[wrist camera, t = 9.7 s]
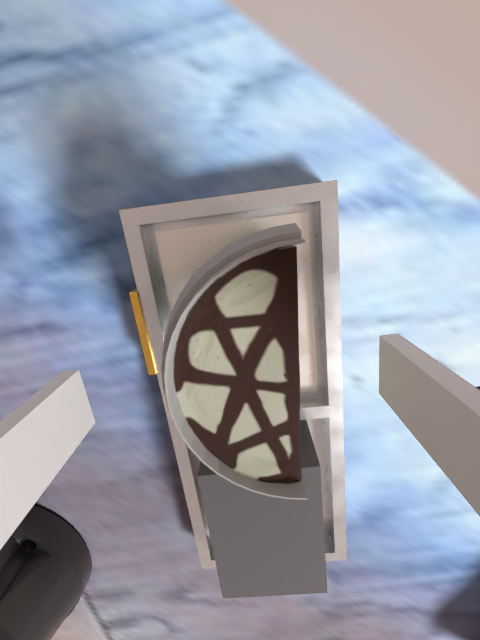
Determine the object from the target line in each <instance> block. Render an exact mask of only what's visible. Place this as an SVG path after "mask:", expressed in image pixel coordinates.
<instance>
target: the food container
mask: <svg viewBox="0 0 480 640" xmlns="http://www.w3.org/2000/svg"><path fill="white" fill-rule="evenodd" d="M304 242H305V240H304V239H303V238H302V231H301V230H300V228H299V227H298V226H297V224H296V223H292V224H286V225H281V226H275V227H270V228H267V229H264V230H261V231H258V232H255V233H252V234H249V235H247V236H245V237H243V238H241V239H239V240H238V241H236V242H234V243H232V244H230V245H228V246H226V247H225V248H224V249H222V250H221V251H220V252H218V253H217V254H216V255H214V256H213V257H212V258H210V259H209V260H208V261H207V262H206V263H205V264H204V265H203V266H202V267H201V268H200V269H199V270H198V271H197V272H196V273H195V274H194V275H193V276H192V277H191V279H190V280H189V282H188V283H187V284H186V286H185V287H184V289H183V290H182V292H181V293H180V295H179V297H178V299H177V301H176V303H175V305H174V307H173V310H172V312H171V314H170V317H169V321H168V324H167V328H166V332H165V337H164V345H163V355H162V365H161V371H162V383H163V390H164V394H165V398H166V402H167V406H168V408H169V410H170V414H171V417H172V419H173V421H174V423H175V426H176V428H177V430H178V432H179V434H180V435H181V437H182V438H183V440H184V441H185V443H186V444H187V446H188V447H189V449H190V450H191V451H192V452H193V453H194V454H195V455H196V456H197V457H198V458H199V459H200V461H201V462H202V463H204V464H205V465H206V466H207V467H209V468H210V469H211V470H212V471H214V472H215V473H216V474H218V475H219V476H221V477H223V478H224V479H226V480H228V481H229V482H231V483H233V484H235V485H237V486H240V487H242V488H244V489H247V490H249V491H252V492H255V493H259V494H263V495H266V496H270V497H277V498H284V499H299V500H307V494H306V489H305V484H304V479H303V474H302V466H301V458H300V365H299V327H298V274H297V246H294V245H298V244H301V243H304Z"/></svg>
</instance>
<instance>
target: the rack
mask: <svg viewBox="0 0 480 640" xmlns="http://www.w3.org/2000/svg"><path fill="white" fill-rule="evenodd" d="M119 213H120V218H121V222H122V226H123V231H124V235H125V239H126V244H127V248H128V252H129V256H130V261H131V265H132V269H133V274H134V278H135V282H136V287H137V288H136V289H134V290H132V291H131V292H129V295H130V299H131V303H132V307H133V311H134V316H135V320H136V324H137V328H138V332H139V336H140V340H141V345H142V349H143V353H144V357H145V361H146V365H147V369H148V374H149V375H155V374H156V373H157V377H158V381H159V386H160V390H161V394H162V398H163V403H164V407H165V411H166V416H167V420H168V424H169V429H170V433H171V437H172V441H173V446H174V450H175V454H176V459H177V463H178V467H179V472H180V476H181V480H182V485H183V489H184V493H185V497H186V502H187V506H188V510H189V515H190V519H191V523H192V528H193V532H194V536H195V540H196V545H197V549H198V553H199V558H200V562H201V566H202V569H210V568H217V567H216V562H215V557H214V553H213V548H212V543H211V538H210V534H209V529H208V524H207V519H206V515H205V510H204V505H203V500H202V496H201V491H200V486H199V482H198V477H197V476H198V471H199V466H200V459H199V458H198V457H197V456H196V455H195V454H194V453H193V452H192V451H191V450H190V449H189V447H188V446H187V444H186V443H185V441H184V440H183V438H182V437H181V435H180V434H179V432H178V430H177V428H176V426H175V423H174V421H173V419H172V417H171V414H170V410H169V408H168V406H167V402H166V398H165V394H164V390H163V383H162V371H161V365H162V355H163V345H164V337H165V332H166V328H167V324H168V321H169V317H170V314H171V312H172V310H173V307H174V305H175V303H176V301H177V299H178V297H179V295H180V293H181V292H182V290H183V289H184V287H185V286H186V284H187V283H188V282H189V280H190V279H191V277H192V276H193V275H194V274H195V273H196V272H197V271H198V270H199V269H200V268H201V267H202V266H203V265H204V264H205V263H206V262H207V261H208V260H209V259H210V258H212V257H213V256H214V255H216V254H217V253H218V252H220V251H221V250H222V249H224V248H225V247H226V246H228V245H230V244H232V243H234V242H236V241H238V240H239V239H241V238H243V237H245V236H247V235H249V234H252V233H255V232H258V231H261V230H264V229H267V228H270V227H275V226H281V225H286V224H292V223H296V224H297V226H298V227H299V228H300V230H301V231H302V238H303V239H304V240H305V242H304V243H301V244H298V245H294V246H297V274H298V327H299V365H300V420H307V423H308V427H309V430H310V433H311V437H312V440H313V443H314V447H315V450H316V454H317V457H318V460H319V464H320V470H321V488H322V506H323V524H324V543H325V561H341V560H347V551H346V511H345V471H344V431H343V391H342V352H341V312H340V272H339V232H338V192H337V180H333V181H326V182H319V183H312V184H304V185H297V186H290V187H283V188H275V189H268V190H261V191H254V192H246V193H239V194H232V195H224V196H217V197H210V198H203V199H195V200H188V201H181V202H174V203H166V204H159V205H152V206H145V207H137V208H130V209H123V210H119Z"/></svg>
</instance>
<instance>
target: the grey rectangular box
mask: <svg viewBox="0 0 480 640" xmlns="http://www.w3.org/2000/svg"><path fill="white" fill-rule="evenodd" d="M300 458H301V466H302V474H303V479H304V484H305V489H306V494H307V500H299V499H284V498H277V497H270V496H266V495H263V494H259V493H255V492H252V491H249V490H247V489H244V488H242V487H240V486H237V485H235V484H233V483H231V482H229V481H228V480H226V479H224V478H223V477H221V476H219V475H218V474H216V473H215V472H214V471H212V470H211V469H210V468H209V467H207V466H206V465H205V464H204V463H202V462H201V461H200V466H199V471H198V476H197V477H198V482H199V486H200V491H201V496H202V500H203V505H204V510H205V515H206V519H207V524H208V529H209V534H210V538H211V543H212V548H213V553H214V557H215V562H216V567H217V572H218V576H219V581H220V586H221V590H222V595H223V598H238V597H256V596H274V595H293V594H311V593H327V579H326V561H325V543H324V524H323V506H322V488H321V470H320V464H319V460H318V457H317V454H316V450H315V447H314V443H313V440H312V437H311V433H310V430H309V427H308V423H307V420H300Z"/></svg>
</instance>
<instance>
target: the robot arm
mask: <svg viewBox="0 0 480 640" xmlns="http://www.w3.org/2000/svg"><path fill="white" fill-rule="evenodd" d="M379 394H380V395H381V396H382V397H383V399H384V400H385V401H386V402H387V403H388V405H389V406H390V407H391V408H392V410H393V411H394V412H395V413H396V414H397V416H398V417H399V418H400V419H401V421H402V422H403V423H404V424H405V425H406V427H407V428H408V429H409V430H410V432H411V433H412V434H413V435H414V436H415V438H416V439H417V440H418V441H419V443H420V444H421V445H422V446H423V447H424V449H425V450H426V451H427V452H428V454H429V455H430V456H431V457H432V458H433V460H434V461H435V462H436V463H437V465H438V466H439V467H440V468H441V469H442V471H443V472H444V473H445V474H446V476H447V477H448V478H449V479H450V480H451V482H452V483H453V484H454V485H455V487H456V488H457V489H458V490H459V491H460V493H461V494H462V495H463V496H464V498H465V499H466V500H467V501H468V502H469V504H470V505H471V506H472V507H473V509H474V510H475V511H476V512H477V513H478V515H479V516H480V386H479V387H474V386H473V385H471V384H470V383H469V382H467V381H466V380H464V379H463V378H461V377H460V376H458V375H457V374H456V373H454V372H453V371H451V370H450V369H448V368H447V367H445V366H444V365H443V364H441V363H440V362H438V361H437V360H435V359H434V358H432V357H431V356H430V355H428V354H427V353H425V352H424V351H422V350H421V349H419V348H418V347H417V346H415V345H414V344H412V343H411V342H409V341H408V340H406V339H405V338H404V337H402V336H401V335H399V334H391V335H382V336H380V349H379ZM94 424H95V420H94V417H93V414H92V410H91V407H90V404H89V401H88V398H87V394H86V391H85V388H84V385H83V382H82V378H81V375H80V372H79V370H72V371H63V372H61V373H60V374H58V375H57V376H56V377H55V378H53V379H52V380H51V381H50V382H48V383H47V384H46V385H45V386H44V387H42V388H41V389H40V390H39V391H37V392H36V393H35V394H34V395H32V396H31V397H30V398H29V399H27V400H26V401H25V402H24V403H23V404H21V405H20V406H19V407H18V408H16V409H15V410H14V411H13V412H11V413H10V414H9V415H8V416H6V417H5V418H4V419H3V420H2V421H0V640H50V639H51V638H52V636H53V635H54V634H55V632H56V631H57V630H58V628H59V627H60V625H61V624H62V622H63V621H64V620H65V619H66V617H68V616H69V614H70V613H71V612H72V611H73V610H74V608H75V607H76V605H77V603H78V602H79V600H80V597H81V595H82V593H83V591H84V588H85V586H86V584H87V582H88V580H89V577H90V574H91V568H92V563H91V557H90V553H89V551H88V548H87V546H86V544H85V543H84V541H83V540H82V538H81V537H80V536H79V534H78V533H77V532H76V531H75V530H74V529H73V528H72V527H71V526H70V525H69V524H67V523H66V522H65V521H63V520H62V519H61V518H59V517H58V516H56V515H54V514H52V513H51V512H49V511H47V510H44V509H42V508H40V507H37V506H34V504H35V503H36V501H37V500H38V499H39V497H40V496H41V495H42V493H43V492H44V491H45V489H46V488H47V487H48V485H49V484H50V483H51V481H52V480H53V479H54V477H55V476H56V475H57V473H58V472H59V471H60V469H61V468H62V467H63V465H64V464H65V463H66V461H67V460H68V459H69V457H70V456H71V455H72V453H73V452H74V451H75V449H76V448H77V446H78V445H79V444H80V442H81V441H82V440H83V438H84V437H85V436H86V434H87V433H88V432H89V430H90V429H91V428H92V426H93V425H94Z"/></svg>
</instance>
